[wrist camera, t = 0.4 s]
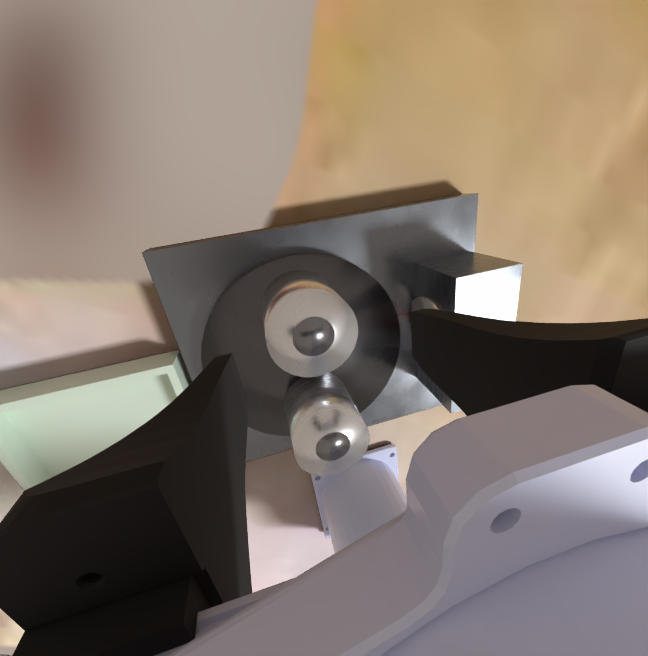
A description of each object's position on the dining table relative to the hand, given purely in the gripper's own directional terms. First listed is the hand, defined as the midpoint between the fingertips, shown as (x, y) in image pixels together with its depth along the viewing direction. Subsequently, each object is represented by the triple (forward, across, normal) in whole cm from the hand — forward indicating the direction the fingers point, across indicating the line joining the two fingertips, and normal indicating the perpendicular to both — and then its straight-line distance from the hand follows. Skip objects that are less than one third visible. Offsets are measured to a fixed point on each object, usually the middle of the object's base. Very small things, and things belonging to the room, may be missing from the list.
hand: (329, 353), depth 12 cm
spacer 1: (+7, 0, 0) cm, 7 cm away
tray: (+9, +14, +8) cm, 18 cm away
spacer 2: (+7, 0, +7) cm, 10 cm away
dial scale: (+9, -2, +4) cm, 10 cm away
